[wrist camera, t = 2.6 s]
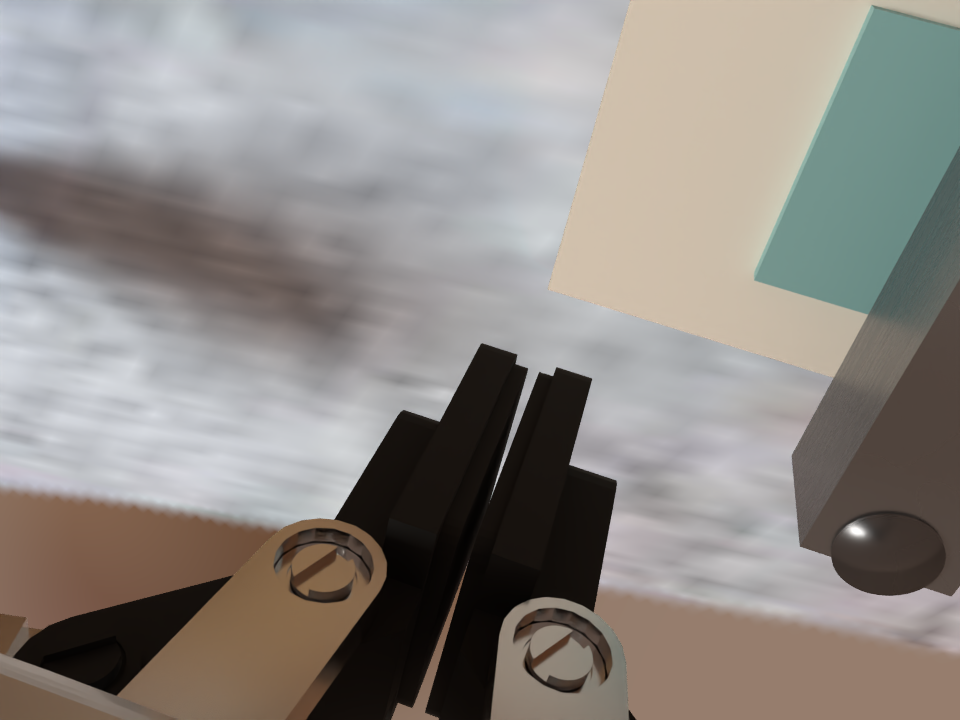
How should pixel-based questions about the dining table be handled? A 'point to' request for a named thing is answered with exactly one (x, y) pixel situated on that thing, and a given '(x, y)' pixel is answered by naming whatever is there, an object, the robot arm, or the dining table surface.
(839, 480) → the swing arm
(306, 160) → the dining table surface
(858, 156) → the label board
